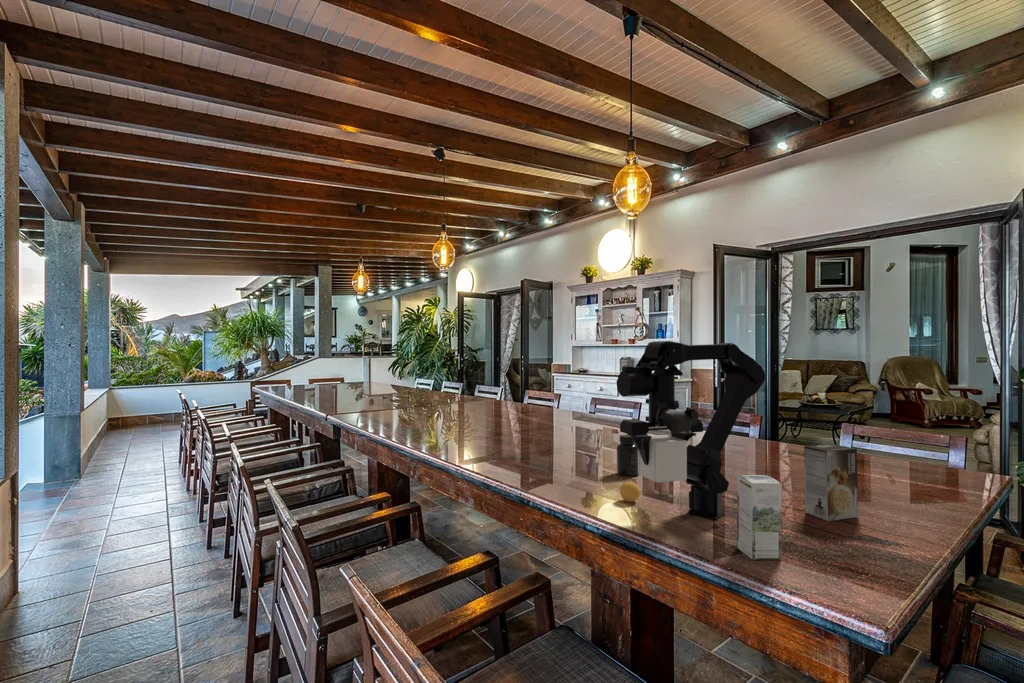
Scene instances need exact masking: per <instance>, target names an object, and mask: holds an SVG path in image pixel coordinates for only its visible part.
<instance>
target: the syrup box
mask: <svg viewBox="0 0 1024 683" xmlns="http://www.w3.org/2000/svg"><path fill="white" fill-rule="evenodd" d="M782 488H783V486H782V483H781V482H779V480H776V479H775V478H773V477H771V476H768V475H763V474H762V475H757V474H755V475H754V474H752V475H751V474H750V475H748V474H747V475H743V474H742V475H737V476H736V548H737V549H738V550H740V551H741V552H742V553H743V554H744V555H745V556H747V557H748V558H749V559H750V560H756V561H758V560H759V561H760V560H761V561H762V560H764V561H765V560H767V561H769V560H782V504H783V503H782V502H783V501H782V499H783V498H782V495H783V494H782V493H783V491H782Z"/></svg>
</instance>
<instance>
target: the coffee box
mask: <svg viewBox="0 0 1024 683" xmlns="http://www.w3.org/2000/svg"><path fill="white" fill-rule="evenodd" d="M803 450H804V451H803V452H804V491H805V492H804V493H805V495H804V496H805V501H804V502H805V514H808V513H809V515H811V516H813V515H814V517H815V518H819V519H821V518H822V520H824V521H827V522H832V521H838V520H839V521H841V520H847V519H856V518H859V488H858V487H859V482H858V480H859V477H858V448H854V447H849V446H844V445H839V444H833V443H832V444H816V445H804V447H803Z"/></svg>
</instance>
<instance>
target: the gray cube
mask: <svg viewBox="0 0 1024 683" xmlns="http://www.w3.org/2000/svg"><path fill="white" fill-rule="evenodd" d="M651 436H652V438H651V439H650V441H649V464H648V465H645V464H644V462H643V460H642V457H641V455H640V453H639V450H638V474H639V475H640V476H642V477H644V478H645V479H648V480H650V481H653V482H656V483H667V482H668V483H669V482H675V481H676V482H678V481H679V482H680V481H686V480H687V446H688V441H686V440H683V439H679V438H676V437H672V436H671V435H668V434H657V435H651ZM639 475H638V476H639Z"/></svg>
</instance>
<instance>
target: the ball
mask: <svg viewBox="0 0 1024 683" xmlns="http://www.w3.org/2000/svg"><path fill="white" fill-rule="evenodd" d="M619 493H620V494H619V495H620V497H621V498H622V499H623V500H624V501H626V502H628V503H633V502H635V501H637V500H638V499H639V497H640V495H641V490H640V487H639V486H638V484H637V483H635V482H633V481H625V482H623V483H622V484H621V486H620V489H619Z"/></svg>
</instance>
